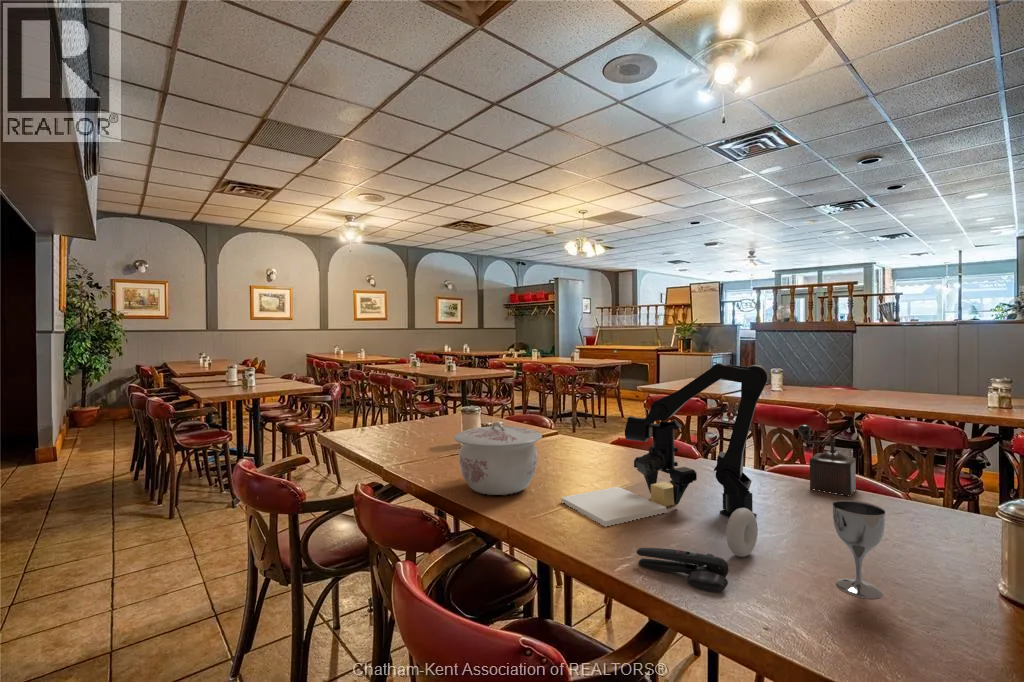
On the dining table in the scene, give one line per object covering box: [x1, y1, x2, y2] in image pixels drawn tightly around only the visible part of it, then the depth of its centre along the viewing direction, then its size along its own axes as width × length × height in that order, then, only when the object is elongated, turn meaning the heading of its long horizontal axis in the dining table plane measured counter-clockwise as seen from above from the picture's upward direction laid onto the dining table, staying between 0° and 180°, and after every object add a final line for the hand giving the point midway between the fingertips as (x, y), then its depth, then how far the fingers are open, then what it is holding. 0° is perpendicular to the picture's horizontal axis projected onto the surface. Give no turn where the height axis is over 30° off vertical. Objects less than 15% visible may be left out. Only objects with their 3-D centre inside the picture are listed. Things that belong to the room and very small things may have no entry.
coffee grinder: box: [797, 424, 857, 497], centre depth 147 cm, size 16×11×18 cm
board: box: [560, 486, 667, 528], centre depth 132 cm, size 20×20×2 cm
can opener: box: [636, 547, 730, 593], centre depth 95 cm, size 18×7×6 cm, turn 53°
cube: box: [650, 481, 676, 507], centre depth 135 cm, size 5×5×5 cm
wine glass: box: [831, 499, 887, 600], centre depth 89 cm, size 8×8×15 cm
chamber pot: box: [453, 421, 543, 496], centre depth 150 cm, size 28×28×21 cm
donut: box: [725, 508, 759, 558], centre depth 103 cm, size 10×4×10 cm, turn 131°
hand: (664, 499), depth 135 cm, fingers open, 9 cm apart
